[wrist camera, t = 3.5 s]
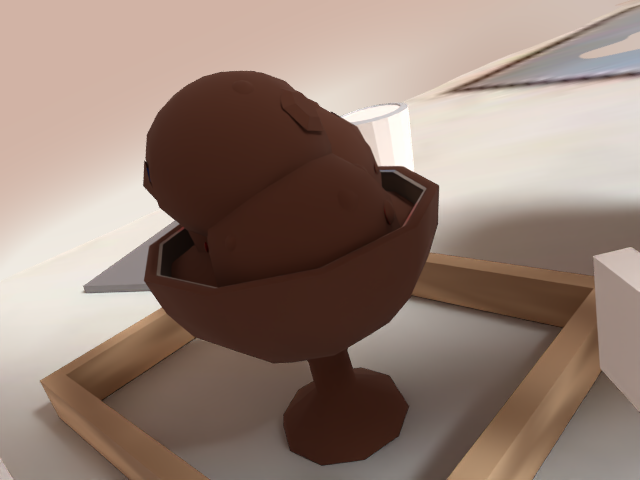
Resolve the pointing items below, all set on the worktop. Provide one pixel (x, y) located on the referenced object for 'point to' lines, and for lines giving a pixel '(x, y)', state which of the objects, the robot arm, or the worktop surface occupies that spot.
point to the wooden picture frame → (434, 283)
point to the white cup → (386, 133)
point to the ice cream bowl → (288, 246)
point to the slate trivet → (127, 269)
